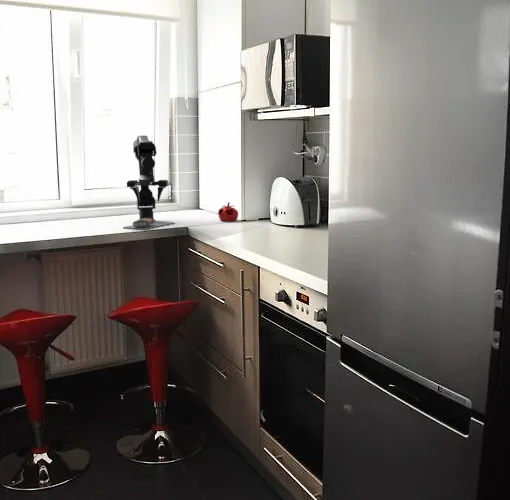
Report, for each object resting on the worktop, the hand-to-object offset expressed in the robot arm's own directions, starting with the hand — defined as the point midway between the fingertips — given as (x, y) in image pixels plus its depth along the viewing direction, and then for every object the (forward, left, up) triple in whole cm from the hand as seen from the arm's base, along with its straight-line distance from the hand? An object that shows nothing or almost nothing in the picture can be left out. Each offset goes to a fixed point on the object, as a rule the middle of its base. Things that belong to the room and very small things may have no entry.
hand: (148, 201), depth 282 cm
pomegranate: (+24, +31, -12) cm, 41 cm away
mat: (-1, 0, -12) cm, 12 cm away
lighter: (-2, -1, -9) cm, 10 cm away
